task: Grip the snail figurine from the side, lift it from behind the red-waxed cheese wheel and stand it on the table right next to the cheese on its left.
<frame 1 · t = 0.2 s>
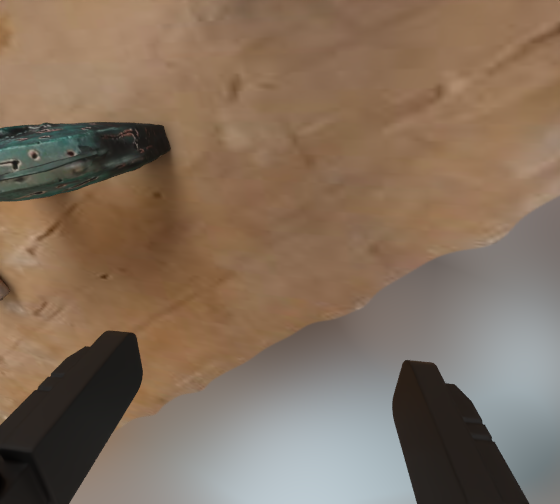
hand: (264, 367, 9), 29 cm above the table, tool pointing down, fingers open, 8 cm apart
ceramic cat: (97, 152, 36), on the table
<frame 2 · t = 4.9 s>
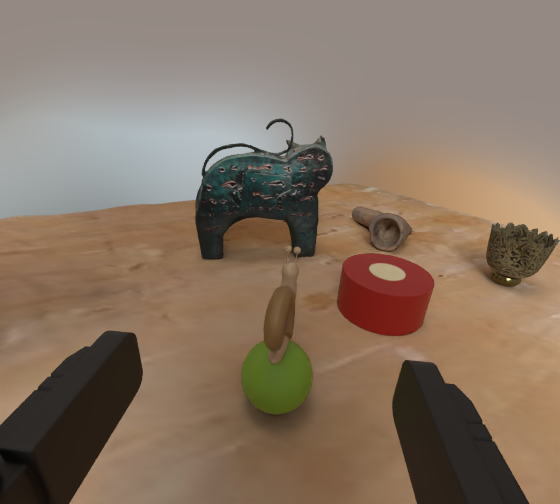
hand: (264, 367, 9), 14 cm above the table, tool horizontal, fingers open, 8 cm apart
snail figurine: (276, 395, 25), on the table
cheese: (378, 308, 37), on the table
ceramic cat: (262, 255, 49), on the table
pipe: (373, 236, 60), on the table
cup: (502, 283, 45), on the table
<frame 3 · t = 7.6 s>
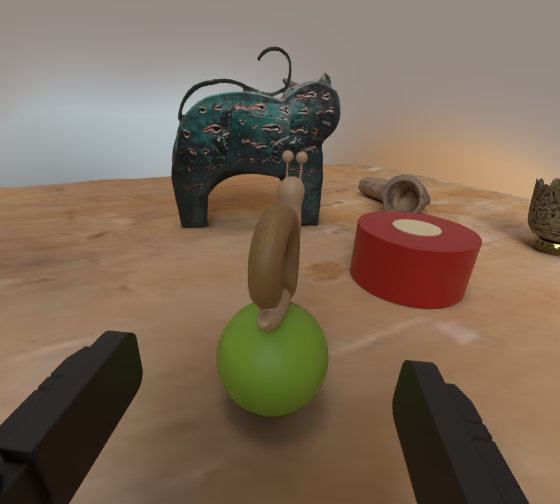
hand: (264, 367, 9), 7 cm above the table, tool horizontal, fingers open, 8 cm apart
snail figurine: (272, 388, 17), on the table
cheese: (403, 277, 29), on the table
ceramic cat: (255, 225, 41), on the table
pipe: (385, 207, 51), on the table
cup: (548, 252, 37), on the table
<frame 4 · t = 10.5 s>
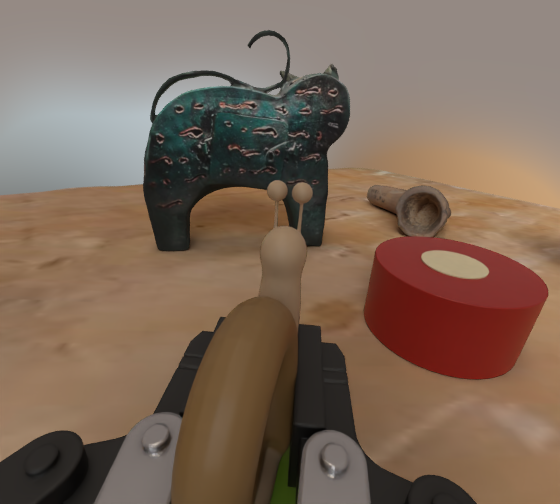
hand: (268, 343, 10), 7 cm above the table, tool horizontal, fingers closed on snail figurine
cheese: (434, 325, 22), on the table
ceramic cat: (247, 246, 34), on the table
pipe: (398, 221, 45), on the table
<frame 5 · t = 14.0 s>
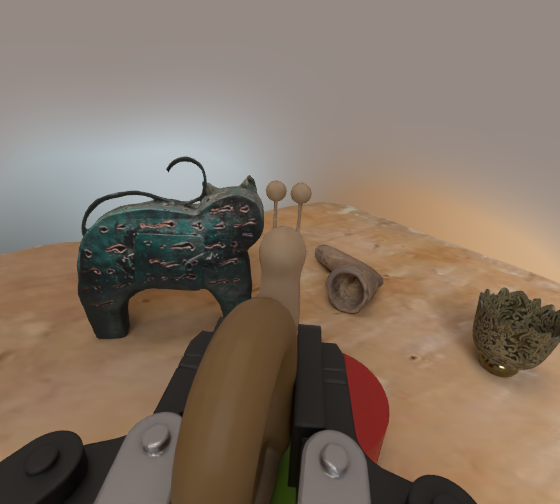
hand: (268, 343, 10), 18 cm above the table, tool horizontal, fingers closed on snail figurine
cheese: (315, 434, 26), on the table
ceramic cat: (182, 327, 38), on the table
pipe: (337, 285, 48), on the table
cup: (494, 368, 34), on the table
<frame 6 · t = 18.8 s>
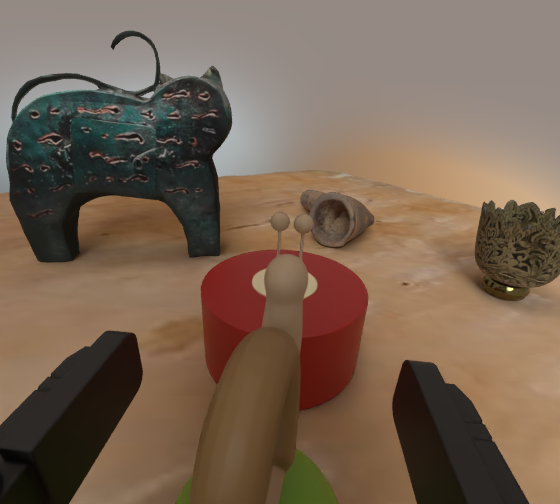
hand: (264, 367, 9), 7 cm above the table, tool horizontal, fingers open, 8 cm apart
cheese: (280, 346, 21), on the table
ceramic cat: (141, 256, 33), on the table
pipe: (323, 228, 43), on the table
cup: (500, 294, 29), on the table
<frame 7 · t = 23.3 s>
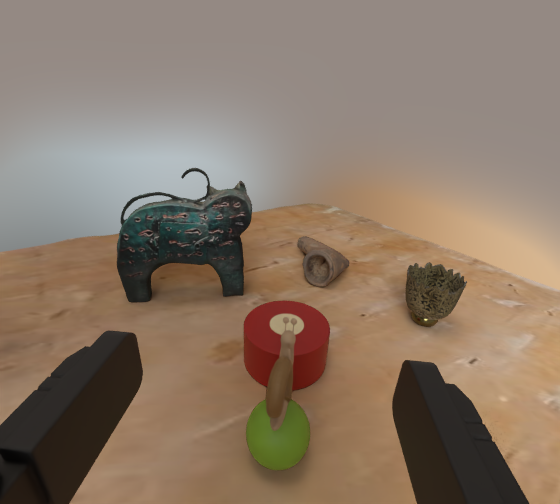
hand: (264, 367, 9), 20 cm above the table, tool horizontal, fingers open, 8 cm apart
snail figurine: (277, 447, 28), on the table
cheese: (284, 357, 38), on the table
ceramic cat: (191, 295, 50), on the table
pipe: (313, 268, 60), on the table
cup: (422, 322, 46), on the table
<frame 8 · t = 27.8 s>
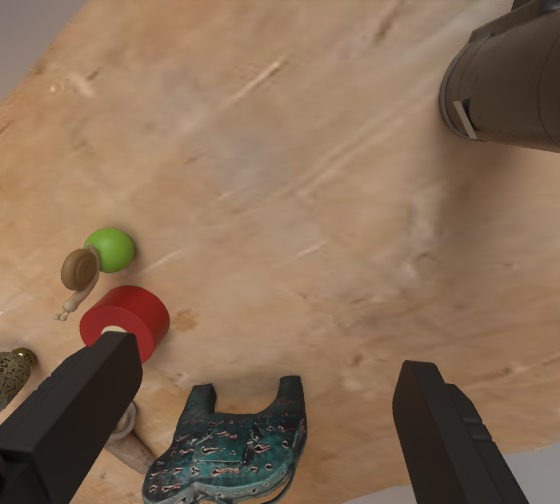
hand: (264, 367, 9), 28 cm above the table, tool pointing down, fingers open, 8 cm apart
snail figurine: (123, 244, 40), on the table
cheese: (136, 315, 45), on the table
ceramic cat: (244, 385, 49), on the table
pipe: (135, 425, 56), on the table
cup: (27, 353, 50), on the table
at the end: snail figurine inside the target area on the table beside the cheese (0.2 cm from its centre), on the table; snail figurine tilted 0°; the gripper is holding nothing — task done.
